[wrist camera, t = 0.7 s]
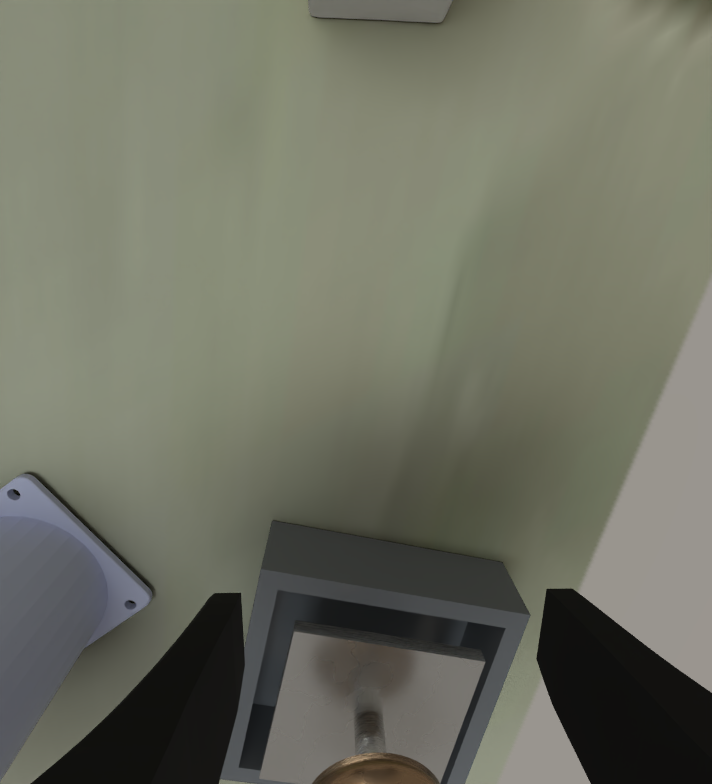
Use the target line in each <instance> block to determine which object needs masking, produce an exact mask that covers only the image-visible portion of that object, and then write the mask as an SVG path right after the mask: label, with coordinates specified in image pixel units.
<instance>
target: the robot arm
mask: <svg viewBox="0 0 712 784" xmlns="http://www.w3.org/2000/svg"><path fill="white" fill-rule="evenodd" d="M13 489H15V490H17V491H18V492H19V493H20V496H18V495H16V494H15V493H14V491H13ZM151 599H152V591H151V590H150V588H149V587H147V586H146V585H145V584H144V583H143V582H142V581H141V580H140V579H139V578H138V577H137V576H136V575H135V574H134V573H133V572H132V571H131V570H130V569H129V568H128V567H127V566H126V565H125V564H124V563H123V562H122V561H121V560H120V559H119V558H118V557H117V556H116V555H115V554H113V553H112V552H111V551H110V550H109V549H108V548H107V547H106V546H105V545H104V544H103V543H102V542H101V541H100V540H99V539H98V538H97V537H96V536H95V535H94V534H93V533H92V532H91V531H90V530H89V529H88V528H87V527H86V526H85V525H84V524H83V523H82V522H81V521H80V520H78V519H77V518H76V517H75V516H74V515H73V514H72V513H71V512H70V511H69V510H68V509H67V508H66V507H65V506H64V505H63V504H62V503H61V502H60V501H59V500H58V499H57V498H56V497H55V496H54V495H53V494H52V493H51V492H50V491H49V490H48V489H47V488H46V487H45V486H43V485H42V484H41V483H40V482H39V481H38V480H37V479H36V478H35V477H34V476H32V475H29V474H21V475H19V476H17V477H16V478H15V479H13V480H12V481H11V482H9V483H8V484H7V485H5V486H4V487H3V488H2V489H0V781H1V780H2V778H3V776H4V775H5V773H6V772H7V770H8V768H9V767H10V765H11V764H12V762H13V760H14V759H15V757H16V756H17V754H18V752H19V751H20V749H21V748H22V746H23V745H24V743H25V741H26V740H27V738H28V737H29V735H30V733H31V732H32V730H33V729H34V727H35V725H36V724H37V722H38V721H39V719H40V717H41V716H42V714H43V713H44V711H45V709H46V708H47V706H48V705H49V703H50V701H51V700H52V698H53V697H54V695H55V693H56V692H57V690H58V689H59V687H60V686H61V684H62V682H63V681H64V679H65V678H66V676H67V674H68V673H69V671H70V670H71V668H72V666H73V665H74V663H75V662H76V660H77V658H78V657H79V655H80V654H81V652H82V650H83V649H84V648H86V647H87V646H89V645H90V644H92V643H93V642H94V641H96V640H97V639H99V638H100V637H102V636H103V635H105V634H106V633H108V632H109V631H111V630H112V629H113V628H115V627H116V626H118V625H119V624H121V623H122V622H124V621H125V620H127V619H128V618H130V617H131V616H132V615H134V614H135V613H137V612H138V611H140V610H141V609H143V608H144V607H146V606H147V605H148V604H149V602H150V601H151ZM128 600H132V601H134V602H135V603H136V604H132V603H130V602H129V601H128ZM537 662H538V665H539V668H540V671H541V674H542V677H543V680H544V682H545V685H546V688H547V691H548V694H549V696H550V699H551V702H552V704H553V706H554V709H555V711H556V713H557V715H558V717H559V719H560V721H561V723H562V725H563V727H564V729H565V732H566V734H567V736H568V738H569V740H570V742H571V744H572V746H573V748H574V750H575V752H576V754H577V756H578V758H579V760H580V762H581V765H582V766H583V769H584V771H585V773H586V775H587V777H588V779H589V781H590V783H591V784H712V693H711V692H710V691H708V690H706V689H705V688H704V687H702V686H701V685H699V684H698V683H697V682H695V681H694V680H692V679H691V678H689V677H688V676H687V675H685V674H684V673H682V672H681V671H679V670H678V669H677V668H675V667H674V666H673V665H671V664H670V663H668V662H667V661H666V660H664V659H663V658H662V657H660V656H659V655H658V654H656V653H655V652H654V651H652V650H651V649H650V648H648V647H647V646H646V645H644V644H643V643H642V642H640V641H639V640H638V639H636V638H635V637H634V636H633V635H631V634H630V633H629V632H627V631H626V630H625V629H624V628H622V627H621V626H620V625H619V624H617V623H616V622H615V621H614V620H612V619H611V618H610V617H608V616H607V615H606V614H605V613H603V612H602V611H601V610H599V609H598V608H597V607H596V606H594V605H593V604H592V603H590V602H589V601H588V600H587V599H585V598H584V597H583V596H582V595H580V594H579V593H577V592H576V591H575V590H573V589H547V591H546V597H545V604H544V611H543V618H542V625H541V632H540V638H539V645H538V652H537ZM244 668H245V656H244V639H243V621H242V604H241V593H214V594H213V595H212V596H211V597H210V598H209V599H208V601H207V602H206V603H205V605H204V606H203V607H202V609H201V610H200V611H199V612H198V614H197V615H196V616H195V618H194V619H193V620H192V622H191V623H190V624H189V625H188V627H187V628H186V629H185V630H184V632H183V633H182V634H181V635H180V637H179V638H178V639H177V640H176V642H175V643H174V644H173V645H172V646H171V647H170V649H169V650H168V651H167V652H166V653H165V655H164V656H163V657H162V658H161V659H160V661H159V662H158V663H157V664H156V665H155V666H154V667H153V669H152V670H151V671H150V672H149V673H148V674H147V675H146V676H145V677H144V678H143V679H142V681H141V682H140V683H139V684H138V685H137V686H136V687H135V688H134V689H133V690H132V691H131V692H130V693H129V695H128V696H127V697H126V698H125V699H124V700H123V701H122V702H121V703H120V704H119V705H118V706H117V707H116V708H115V709H114V710H113V711H112V712H111V713H110V714H109V715H108V716H107V717H106V718H105V719H104V720H103V721H102V722H101V723H100V724H99V725H97V726H96V727H95V728H94V729H93V730H92V731H91V732H90V733H89V734H88V735H87V736H86V737H85V738H84V739H82V740H81V741H80V742H79V743H78V744H77V745H76V746H75V747H73V748H72V749H71V750H70V751H69V752H68V753H67V754H65V755H64V756H63V757H62V758H61V759H60V760H58V761H57V762H56V763H55V764H54V765H53V766H51V767H50V768H49V769H48V770H47V771H45V772H44V773H43V774H42V775H41V776H39V777H38V778H37V779H36V780H35V781H33V782H32V783H31V784H219V780H220V776H221V773H222V769H223V765H224V761H225V758H226V754H227V750H228V746H229V743H230V739H231V735H232V731H233V727H234V724H235V720H236V716H237V712H238V706H239V700H240V694H241V688H242V681H243V675H244Z"/></svg>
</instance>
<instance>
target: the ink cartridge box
mask: <svg viewBox="0 0 712 784" xmlns="http://www.w3.org/2000/svg"><path fill="white" fill-rule="evenodd" d="M452 1H453V0H308V4H309V12H310V15H311V16H313V17H320V18H347V19H371V20H392V21H408V22H431V23H440V22H442V21H443V20H444V18H445V16H446V14H447V12H448V10H449V8H450V6H451V3H452Z"/></svg>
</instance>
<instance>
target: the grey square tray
mask: <svg viewBox="0 0 712 784" xmlns="http://www.w3.org/2000/svg"><path fill="white" fill-rule="evenodd" d="M529 618H530V613H529V611H528V610H527V608H526V606H525V604H524V602H523V600H522V598H521V596H520V594H519V593H518V591H517V589H516V587H515V585H514V583H513V581H512V579H511V577H510V576H509V574H508V572H507V570H506V568H505V566H504V564H503V562H498V561H492V560H487V559H481V558H476V557H470V556H465V555H459V554H454V553H448V552H443V551H437V550H432V549H426V548H421V547H415V546H410V545H404V544H399V543H393V542H388V541H382V540H376V539H371V538H365V537H360V536H354V535H349V534H343V533H338V532H332V531H327V530H321V529H316V528H310V527H305V526H299V525H294V524H288V523H283V522H277V521H272V524H271V528H270V532H269V537H268V541H267V545H266V549H265V554H264V558H263V562H262V567H261V571H260V576H259V581H258V586H257V591H256V595H255V600H254V605H253V610H252V615H251V620H250V624H249V629H248V634H247V639H246V644H245V648H244V656H245V668H244V675H243V681H242V688H241V694H240V700H239V706H238V712H237V716H236V720H235V724H234V727H233V731H232V735H231V739H230V743H229V746H228V750H227V754H226V758H225V761H224V765H223V769H222V773H221V776H220V779H224V780H232V781H240V782H247V783H255V784H295V783H288V782H280V781H272V780H264V779H259V776H260V769H261V763H262V759H263V754H264V750H265V746H266V742H267V737H268V733H269V729H270V725H271V721H272V716H273V712H274V708H275V704H276V699H277V695H278V691H279V687H280V683H281V678H282V674H283V670H284V666H285V661H286V657H287V653H288V649H289V645H290V640H291V636H292V632H293V628H294V623H295V620H299V621H306V622H312V623H318V624H324V625H330V626H336V627H343V628H349V629H355V630H361V631H367V632H373V633H380V634H386V635H392V636H398V637H404V638H410V639H417V640H423V641H429V642H435V643H441V644H448V645H454V646H460V647H466V648H472V649H478V650H481V651H482V654H483V656H484V659H485V665H484V667H483V670H482V673H481V675H480V678H479V681H478V683H477V686H476V689H475V691H474V694H473V697H472V700H471V702H470V705H469V708H468V710H467V713H466V716H465V718H464V721H463V724H462V726H461V729H460V732H459V734H458V737H457V740H456V743H455V745H454V748H453V751H452V753H451V756H450V759H449V761H448V764H447V767H446V769H445V772H444V775H443V777H442V780H441V783H440V784H465V782H466V779H467V776H468V774H469V771H470V769H471V766H472V764H473V761H474V759H475V756H476V753H477V751H478V748H479V746H480V743H481V741H482V738H483V735H484V733H485V730H486V728H487V725H488V723H489V720H490V718H491V715H492V712H493V710H494V707H495V705H496V702H497V700H498V697H499V694H500V692H501V689H502V687H503V684H504V682H505V679H506V677H507V674H508V671H509V669H510V666H511V664H512V661H513V659H514V656H515V653H516V651H517V648H518V646H519V643H520V641H521V638H522V636H523V633H524V630H525V628H526V625H527V623H528V620H529Z"/></svg>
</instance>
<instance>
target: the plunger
mask: <svg viewBox="0 0 712 784" xmlns="http://www.w3.org/2000/svg"><path fill="white" fill-rule="evenodd" d="M484 665H485V659H484V656H483V654H482V651H481V650H478V649H472V648H466V647H460V646H454V645H448V644H441V643H435V642H429V641H423V640H417V639H410V638H404V637H398V636H392V635H386V634H380V633H373V632H367V631H361V630H355V629H349V628H343V627H336V626H330V625H324V624H318V623H312V622H306V621H299V620H295V623H294V628H293V632H292V636H291V640H290V645H289V649H288V653H287V657H286V661H285V666H284V670H283V674H282V678H281V683H280V687H279V691H278V695H277V699H276V704H275V708H274V712H273V716H272V721H271V725H270V729H269V733H268V737H267V742H266V746H265V750H264V754H263V759H262V763H261V769H260V776H259V779H264V780H272V781H280V782H288V783H295V784H440V783H441V780H442V777H443V775H444V772H445V769H446V767H447V764H448V761H449V759H450V756H451V753H452V751H453V748H454V745H455V743H456V740H457V737H458V734H459V732H460V729H461V726H462V724H463V721H464V718H465V716H466V713H467V710H468V708H469V705H470V702H471V700H472V697H473V694H474V691H475V689H476V686H477V683H478V681H479V678H480V675H481V673H482V670H483V667H484Z"/></svg>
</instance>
